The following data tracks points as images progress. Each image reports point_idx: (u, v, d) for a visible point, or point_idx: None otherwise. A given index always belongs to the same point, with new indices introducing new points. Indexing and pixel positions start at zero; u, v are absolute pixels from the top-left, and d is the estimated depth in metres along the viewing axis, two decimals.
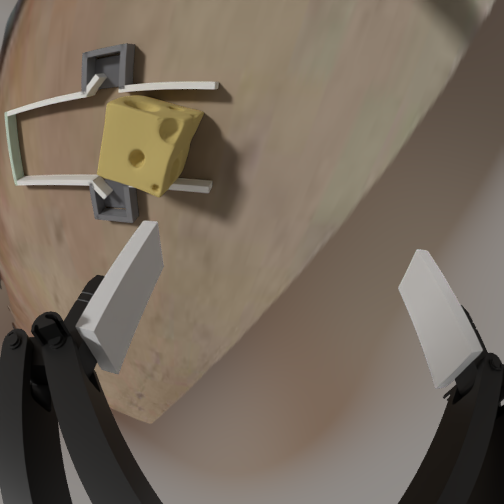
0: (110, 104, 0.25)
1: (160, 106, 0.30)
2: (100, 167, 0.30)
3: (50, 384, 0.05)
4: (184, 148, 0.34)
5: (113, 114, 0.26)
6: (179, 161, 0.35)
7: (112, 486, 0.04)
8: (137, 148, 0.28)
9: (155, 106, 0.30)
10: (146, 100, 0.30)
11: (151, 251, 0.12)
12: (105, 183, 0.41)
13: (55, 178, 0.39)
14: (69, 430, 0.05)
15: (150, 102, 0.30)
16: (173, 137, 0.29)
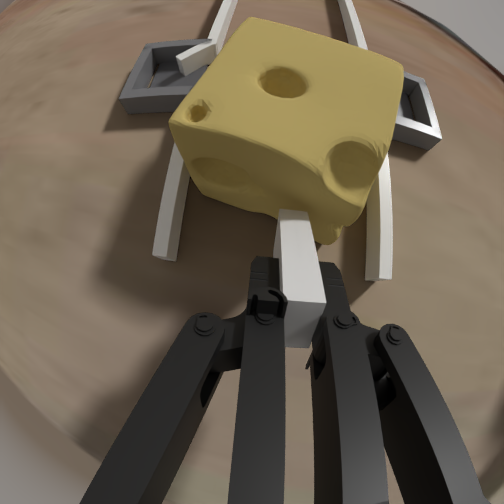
0: (402, 68, 0.11)
1: None
2: (265, 22, 0.12)
3: (244, 355, 0.07)
4: (264, 201, 0.17)
5: (383, 65, 0.11)
6: (234, 188, 0.17)
7: (265, 473, 0.05)
8: (311, 88, 0.11)
9: None
10: None
11: None
12: (200, 65, 0.22)
13: (231, 6, 0.22)
14: (247, 406, 0.06)
15: None
16: (327, 176, 0.12)
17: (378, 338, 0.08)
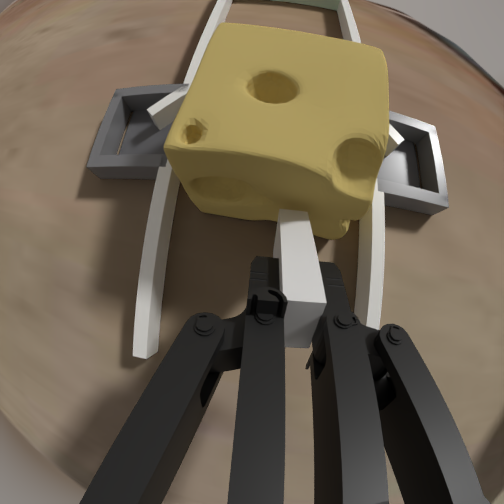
0: (383, 54, 0.11)
1: None
2: (238, 26, 0.12)
3: (244, 355, 0.07)
4: (268, 208, 0.17)
5: (365, 53, 0.11)
6: (237, 201, 0.17)
7: (265, 473, 0.05)
8: (302, 89, 0.11)
9: None
10: None
11: None
12: None
13: None
14: (247, 406, 0.06)
15: None
16: (334, 176, 0.12)
17: (378, 338, 0.08)
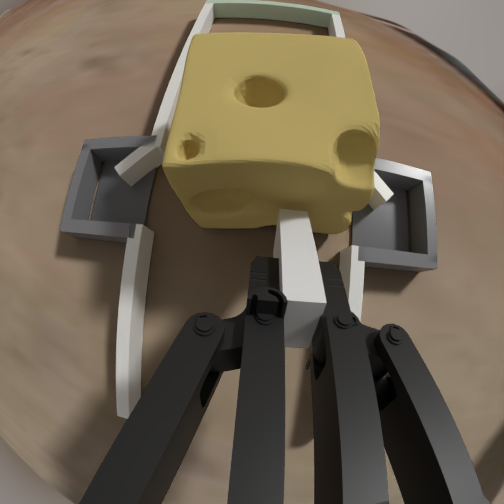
0: (358, 44, 0.12)
1: None
2: (213, 35, 0.12)
3: (244, 355, 0.07)
4: (271, 213, 0.17)
5: (341, 46, 0.12)
6: (238, 211, 0.16)
7: (265, 473, 0.05)
8: (290, 89, 0.11)
9: None
10: None
11: None
12: (147, 171, 0.20)
13: None
14: (247, 406, 0.06)
15: None
16: (335, 170, 0.12)
17: (378, 338, 0.08)
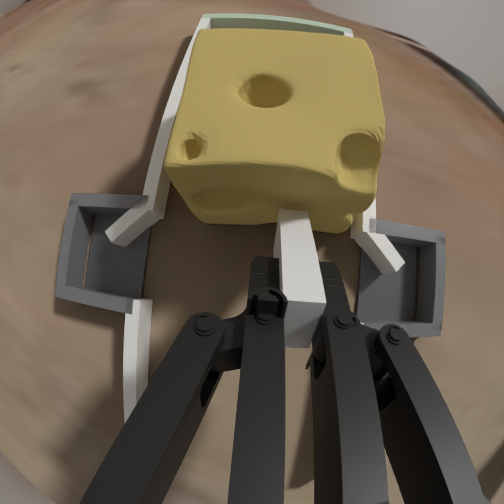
0: (366, 44, 0.11)
1: None
2: (219, 31, 0.12)
3: (244, 355, 0.07)
4: (272, 212, 0.17)
5: (349, 45, 0.11)
6: (239, 209, 0.16)
7: (265, 473, 0.05)
8: (295, 89, 0.11)
9: None
10: None
11: None
12: (141, 231, 0.19)
13: None
14: (247, 406, 0.06)
15: None
16: (338, 173, 0.12)
17: (378, 338, 0.08)
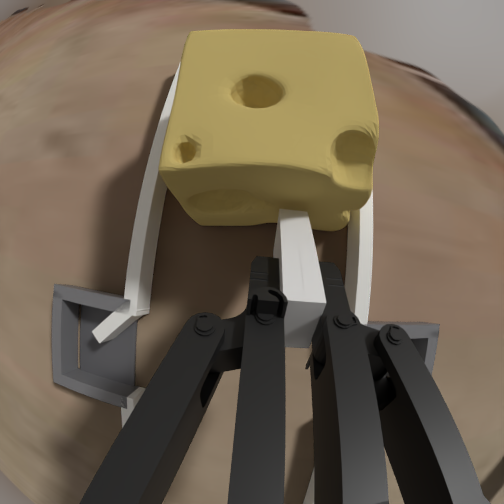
0: (357, 40, 0.11)
1: None
2: (209, 33, 0.12)
3: (244, 355, 0.07)
4: (269, 212, 0.17)
5: (340, 42, 0.11)
6: (236, 210, 0.16)
7: (265, 473, 0.05)
8: (288, 88, 0.11)
9: None
10: None
11: None
12: (128, 325, 0.18)
13: None
14: (247, 406, 0.06)
15: None
16: (333, 171, 0.12)
17: (378, 338, 0.08)
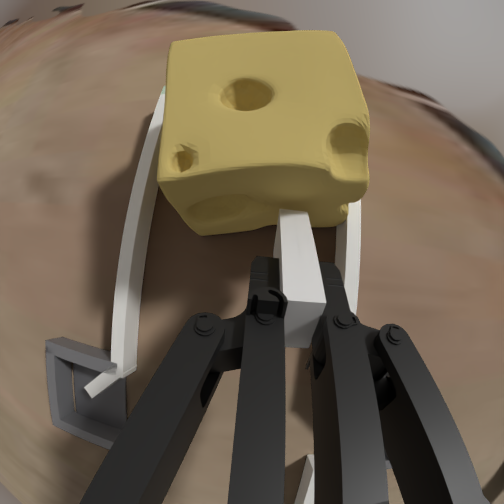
0: (337, 35, 0.12)
1: None
2: (191, 41, 0.12)
3: (244, 355, 0.07)
4: (268, 214, 0.17)
5: (321, 39, 0.12)
6: (236, 216, 0.16)
7: (265, 473, 0.05)
8: (276, 88, 0.11)
9: None
10: None
11: None
12: (117, 380, 0.18)
13: (139, 239, 0.18)
14: (247, 406, 0.06)
15: None
16: (330, 165, 0.12)
17: (378, 338, 0.08)
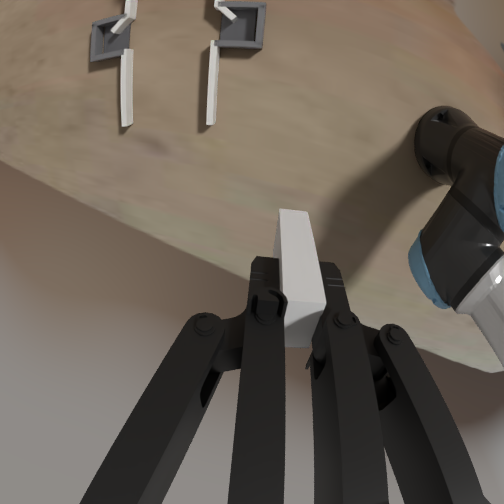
0: None
1: None
2: None
3: (244, 355, 0.07)
4: None
5: None
6: None
7: (265, 473, 0.05)
8: None
9: None
10: None
11: None
12: (126, 26, 0.30)
13: None
14: (247, 406, 0.06)
15: None
16: None
17: (378, 338, 0.08)
